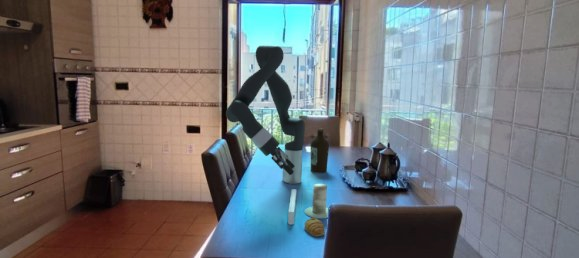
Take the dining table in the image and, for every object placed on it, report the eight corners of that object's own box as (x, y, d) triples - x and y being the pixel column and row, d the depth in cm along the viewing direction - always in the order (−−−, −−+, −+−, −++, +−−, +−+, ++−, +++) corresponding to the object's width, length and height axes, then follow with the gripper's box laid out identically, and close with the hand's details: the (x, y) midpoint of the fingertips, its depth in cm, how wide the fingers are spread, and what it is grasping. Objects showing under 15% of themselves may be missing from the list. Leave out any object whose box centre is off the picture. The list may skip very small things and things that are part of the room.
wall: (291, 200, 161) (291, 189, 160) (295, 200, 161) (296, 189, 160) (288, 224, 135) (288, 211, 135) (293, 224, 135) (293, 212, 135)
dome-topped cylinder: (309, 211, 148) (310, 185, 146) (318, 208, 151) (319, 182, 150) (319, 215, 144) (320, 189, 142) (328, 212, 147) (329, 186, 146)
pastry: (329, 237, 127) (329, 226, 126) (310, 239, 125) (311, 228, 124) (319, 225, 136) (319, 216, 135) (302, 227, 134) (302, 217, 133)
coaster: (298, 211, 148) (298, 210, 148) (318, 205, 156) (318, 204, 156) (319, 221, 139) (319, 220, 139) (340, 213, 147) (340, 212, 147)
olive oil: (321, 167, 217) (323, 126, 213) (331, 172, 208) (333, 129, 204) (306, 169, 212) (307, 127, 208) (315, 174, 203) (317, 130, 199)
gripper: (269, 138, 137) (299, 169, 138) (273, 132, 151) (299, 160, 152) (255, 151, 138) (284, 182, 139) (260, 144, 152) (286, 171, 153)
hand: (292, 170), depth 145 cm, fingers open, 8 cm apart
